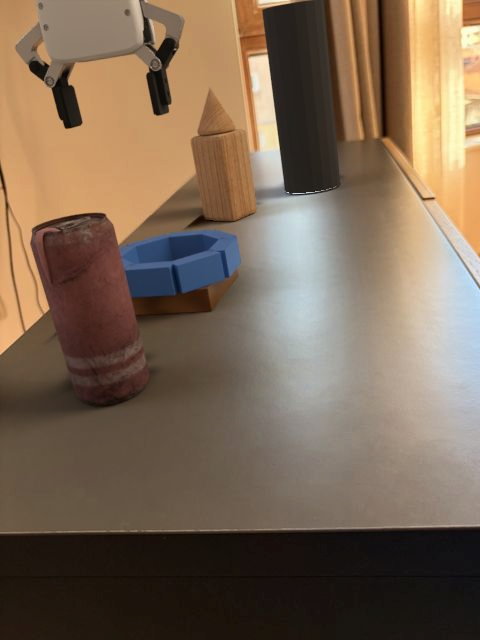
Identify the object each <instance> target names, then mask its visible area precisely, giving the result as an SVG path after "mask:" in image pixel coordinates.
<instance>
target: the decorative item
mask: <svg viewBox="0 0 480 640" xmlns="http://www.w3.org/2000/svg"><path fill="white" fill-rule="evenodd" d="M196 131H197V132H196V133H197V135H194V136H193V137H191V138H190V147H191V152H192V157H193V164H194V169H195V174H196V175H195V176H196V180H197V186H198V191H199V196H200V202H201V208H202V213H203V218H204V219H205V221H209V220H213V221H212V222H236V221H238V220H240V219H242V218H245V217H247V216H249V214H250V215H252V214H254V213H256V212H257V210H258V206H257V205H258V204H257V199H256V192H255V185H254V177H253V171H252V165H251V157H250V150H249V144H248V136H247V131H246V130H245V129H242V128H237V126H236V123H234V121H233V120H232V118H231V117H230V114H229V113H228V112H227V110H226V109H225V108H224V106H223V104H222V103H221V102H220V100H219V98H218V97H217V95H216V94H215V93H214V90H212V88H211V87H209V88H208V91H207V95H206V98H205V103H204V105H203V110H202V113H201V116H200V120H199V124H198V128H197V130H196Z"/></svg>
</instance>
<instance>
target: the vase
mask: <svg viewBox="0 0 480 640" xmlns="http://www.w3.org/2000/svg"><path fill="white" fill-rule="evenodd" d="M325 10H326V9H325V1H324V0H301V1H295V2H289V3H284V4H279V5H273V6H270V7H265V8H263V9H262V10H261V12H262V20H263V22H262V23H263V28H264V37H265V44H266V52H267V61H268V69H269V75H270V77H269V78H270V84H271V92H272V99H273V107H274V114H275V115H274V116H275V123H276V131H277V139H278V147H279V148H278V149H279V154H280V162H281V163H280V164H281V171H282V179H283V185H284V192H285V191H286V192H289V193H306V192H315V191H321V190H326V189H329V188H333V187H335V186H338V185H339V184H340V185H341V175H340V165H339V154H338V142H337V130H336V119H335V111H334V98H333V88H332V87H333V86H332V77H331V66H330V65H331V64H330V55H329V42H328V32H327V31H328V30H327V21H326V11H325ZM340 185H339V186H340ZM339 186H338V187H339ZM286 192H285V193H286Z"/></svg>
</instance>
